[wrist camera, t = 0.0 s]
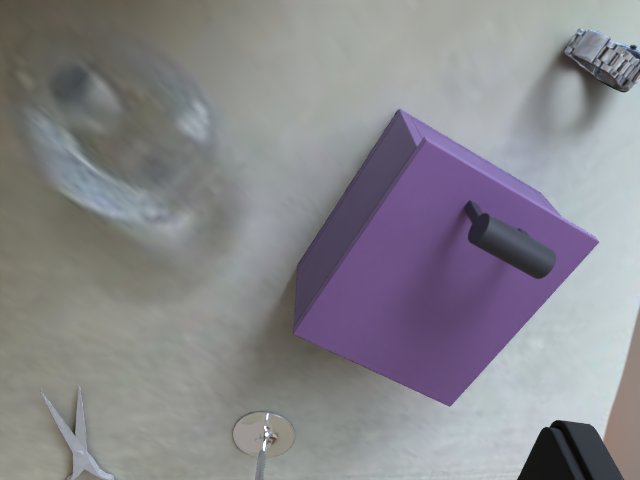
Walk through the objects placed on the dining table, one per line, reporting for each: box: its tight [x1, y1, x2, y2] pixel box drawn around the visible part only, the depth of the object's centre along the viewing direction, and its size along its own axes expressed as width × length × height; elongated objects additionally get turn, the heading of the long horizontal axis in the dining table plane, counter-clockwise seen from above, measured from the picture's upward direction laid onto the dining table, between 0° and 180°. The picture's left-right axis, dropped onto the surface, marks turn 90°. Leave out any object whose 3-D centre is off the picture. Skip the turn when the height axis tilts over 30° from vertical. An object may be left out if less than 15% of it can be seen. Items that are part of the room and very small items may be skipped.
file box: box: [294, 109, 561, 326], centre depth 45 cm, size 16×14×9 cm
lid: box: [293, 137, 599, 406], centre depth 39 cm, size 17×14×5 cm
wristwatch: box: [564, 29, 640, 92], centre depth 41 cm, size 3×5×5 cm
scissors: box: [39, 385, 115, 480], centre depth 61 cm, size 11×1×20 cm
